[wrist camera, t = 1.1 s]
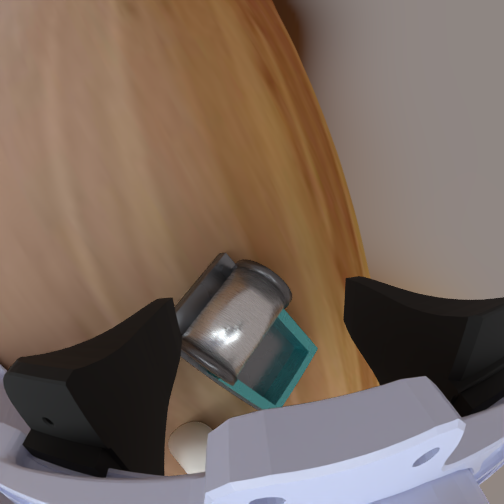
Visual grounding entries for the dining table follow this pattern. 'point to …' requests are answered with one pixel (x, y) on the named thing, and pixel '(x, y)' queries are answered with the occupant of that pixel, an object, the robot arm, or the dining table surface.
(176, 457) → the white capped bottle
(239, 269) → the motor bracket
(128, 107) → the dining table surface
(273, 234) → the dining table surface
